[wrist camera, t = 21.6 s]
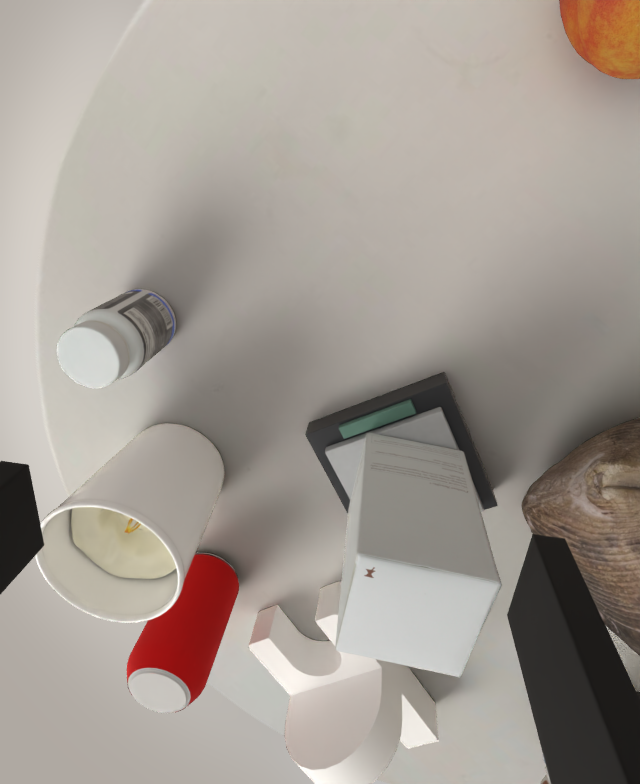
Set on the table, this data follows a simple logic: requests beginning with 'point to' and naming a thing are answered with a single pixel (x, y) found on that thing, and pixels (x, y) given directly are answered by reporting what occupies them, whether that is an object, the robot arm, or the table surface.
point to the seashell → (598, 521)
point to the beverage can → (184, 638)
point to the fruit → (605, 34)
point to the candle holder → (134, 526)
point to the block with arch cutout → (341, 698)
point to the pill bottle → (116, 338)
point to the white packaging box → (414, 558)
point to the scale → (396, 433)
